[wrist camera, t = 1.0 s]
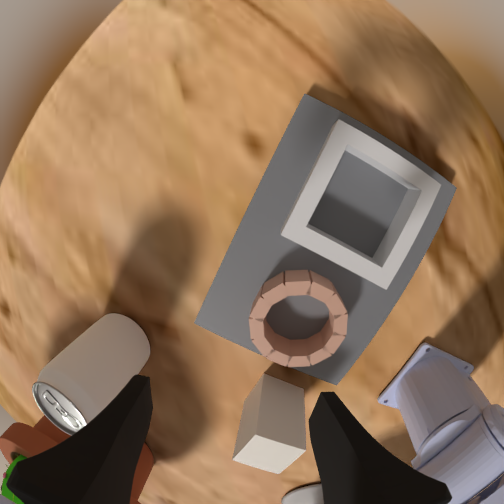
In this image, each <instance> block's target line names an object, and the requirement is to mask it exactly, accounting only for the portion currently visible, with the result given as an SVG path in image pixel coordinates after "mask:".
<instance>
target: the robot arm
mask: <svg viewBox="0 0 504 504" xmlns="http://www.w3.org/2000/svg"><path fill="white" fill-rule="evenodd" d="M427 348H428V350H426V349H427ZM473 369H474V366H473V365H472V364H470V363H468V362H465V361H463V360H461V359H459V358H457V357H455V356H453V355H451V354H449V353H447V352H445V351H442V350H440V349H438V348H436V347H434V346H432V345H430V344H428V343H422V344H421V345H420V346H419V348H418V349H417V350H416V352H415V353H414V354H413V356H412V357H411V358H410V360H409V361H408V362H407V364H406V365H405V366H404V367H403V369H402V370H401V371H400V372H399V374H398V375H397V376H396V377H395V378H394V380H393V381H392V382H391V383H390V384H389V386H388V387H387V388H386V389H385V390H384V391H383V393H382V394H381V395H380V396H379V397H378V402H379V403H380V404H384V405H387V406H390V407H394V408H397V409H399V410H400V412H401V415H402V417H403V420H404V422H405V425H406V428H407V430H408V433H409V435H410V438H411V441H412V444H413V446H414V449H415V452H416V455H417V456H416V457H415V458H414V459H413V460H411V463H412V466H413V468H412V467H410V466H408V465H407V464H405V463H404V462H402V461H401V460H399V459H398V458H397V457H395V456H394V455H392V454H391V453H390V452H389V451H388V450H386V449H385V448H384V447H383V446H382V445H380V444H379V443H378V442H377V441H376V440H375V439H374V438H373V437H372V436H371V435H370V434H369V433H368V432H367V431H366V430H365V429H364V427H363V426H362V425H361V424H360V423H359V422H358V421H357V420H356V418H355V417H354V416H353V415H352V414H351V412H350V411H349V410H348V409H347V407H346V406H345V405H344V404H343V402H342V401H341V400H340V399H339V397H338V396H337V395H336V394H335V392H321V393H320V396H319V398H318V400H317V403H316V405H315V407H314V410H313V412H312V414H311V416H310V419H309V430H310V438H311V444H312V448H313V452H314V456H315V460H316V463H317V467H318V471H319V475H320V479H321V484H322V491H323V499H324V504H504V474H503V473H504V408H502V407H501V406H500V405H498V404H494V405H491V404H490V402H489V401H488V399H487V398H486V396H485V395H484V394H483V392H482V391H481V390H480V388H479V387H478V385H477V384H476V383H475V381H474V380H473V379H472V377H471V376H470V373H471V372H472V371H473ZM385 400H386V401H385ZM152 410H153V404H152V396H151V388H150V378H149V377H146V376H141V375H134V376H133V377H132V378H131V379H130V381H129V382H128V383H127V384H126V385H125V387H124V388H123V389H122V390H121V391H120V392H119V394H118V395H117V396H116V397H115V398H114V399H113V400H112V401H111V402H110V403H109V404H108V405H107V406H106V407H105V408H104V409H103V410H102V411H101V412H100V413H99V414H98V415H97V416H96V417H95V418H94V419H92V420H91V421H90V422H89V423H88V424H87V425H85V426H84V427H83V428H81V429H80V430H79V431H77V432H76V433H75V434H73V435H72V436H70V437H69V438H67V439H66V440H64V441H62V442H61V443H59V444H57V445H55V446H54V447H52V448H50V449H48V450H46V451H44V452H42V453H39V454H37V455H34V456H32V457H29V458H26V459H24V460H21V461H18V462H17V463H16V465H15V466H14V468H13V470H12V472H11V474H10V476H9V478H8V481H7V483H6V486H7V488H8V489H9V490H10V491H11V492H12V493H13V494H14V495H15V496H17V497H18V498H19V499H20V500H21V501H22V502H23V503H24V504H130V498H131V491H132V485H133V479H134V474H135V470H136V466H137V463H138V460H139V457H140V454H141V451H142V448H143V445H144V442H145V439H146V435H147V432H148V429H149V425H150V420H151V415H152ZM502 474H503V475H502ZM501 475H502V476H501ZM500 476H501V477H500ZM497 478H498V479H497ZM496 479H497V480H496ZM495 480H496V481H495ZM494 481H495V482H494ZM491 483H492V484H491ZM490 484H491V485H490ZM489 485H490V486H489ZM486 487H487V488H486ZM485 488H486V489H485ZM484 489H485V490H484ZM482 490H483V491H482ZM481 491H482V492H481ZM480 492H481V493H480ZM478 493H479V494H478ZM477 494H478V495H477ZM476 495H477V496H476ZM474 496H475V497H474ZM473 497H474V498H473ZM472 498H473V499H472ZM470 499H471V500H470ZM0 504H16V503H14V502H13V501H11V500H9V499H8V498H6V497H5V496H3V495H1V494H0Z"/></svg>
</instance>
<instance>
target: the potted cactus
mask: <svg viewBox="0 0 504 504" xmlns="http://www.w3.org/2000/svg"><path fill="white" fill-rule="evenodd" d="M70 436H71V435H69V434H67V433H65V432H64V431H62V430H61V429H59V428H58V427H57V426H55V425H54V424H53V423H52V422H51V421H50V420H49V419H48V418H47V417H46V416H45V415H44V416H43V417H42V418H41V419H40V421H39V422H38V423H37V424H36V425H35V426H34V427H31V426H29V425H27V424H24V423H19V422H17V423H13V424H12V425H11V426H10V427H9V428H8V429H7V430H6V431H5V432H4V434H3V435H2V436H1V437H0V449H1V451H2V453H3V455H4V457H5V458H6V459H7V461H8V462H9V464H10V466H9V467H8V469H7V471H6V472H5V473H4V474H3V478H4V479H3V483H2V486H1V491H2V494H1V495H3V496H5V497H6V498H8V499H9V500H11V501H13V502H14V503H16V504H24V503H23V502H22V501H21V500H20V499H19V498H18V497H17V496H15V495H14V494H13V493H12V492H11V491H10V490H9V489H8V488H7V486H6V483H7V481H8V478H9V476H10V474H11V472H12V470H13V468H14V466H15V465H16V463H17V462H18V461H21V460H24V459H26V458H29V457H32V456H34V455H37V454H39V453H42V452H44V451H46V450H48V449H50V448H52V447H54V446H55V445H57V444H59V443H61V442H62V441H64V440H66V439H67V438H69V437H70ZM153 462H154V460H153V455H152V453H151V451H150V449H149V448H148V446H147V445H146V444H145V442H144V445H143V448H142V451H141V454H140V457H139V460H138V463H137V466H136V470H135V474H134V479H133V485H132V491H131V498H130V504H140V503H139V502H138V498H139V496H140V494H141V492H142V490H143V487H144V485H145V483H146V481H147V479H148V476H149V474H150V472H151V470H152V467H153Z"/></svg>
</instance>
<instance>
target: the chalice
mask: <svg viewBox="0 0 504 504" xmlns="http://www.w3.org/2000/svg"><path fill="white" fill-rule="evenodd" d="M281 503H282V504H324V499H323V491H322V484H315V485H310V486H305V487H301V488H298V489H295V490H293V491H291V492H289V493H287V494H286V495H285V496H284V497H283V498H282V501H281Z"/></svg>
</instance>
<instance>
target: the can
mask: <svg viewBox="0 0 504 504" xmlns="http://www.w3.org/2000/svg"><path fill="white" fill-rule="evenodd" d="M149 356H150V344H149V341H148V338H147V336H146V334H145V333H144V331H143V330H142V328H141V327H140V326H139V325H138V324H137V323H136V322H135V321H133V320H132V319H130V318H129V317H126V316H124V315H121V314H117V313H110V314H107V315H105V316H103V317H102V318H100V319H99V320H98V321H97V322H95V323H94V324H93V325H92V326H91V327H89V328H88V329H87V330H86V331H85V332H83V333H82V334H81V335H80V336H79V337H78V338H76V339H75V340H74V341H73V342H72V343H71V344H69V345H68V346H67V347H66V348H65V349H64V350H62V351H61V352H60V353H59V354H58V355H57V356H56V357H55V358H53V359H52V360H51V361H50V362H49V363H48V364H47V365H46V366H45V367H44V368H43V369H42V370H41V372H40V374H39V377H38V380H37V382H35V383H34V384H33V387H32V392H33V396H34V399H35V401H36V403H37V405H38V406H39V408H40V409H41V411H42V412H43V413H44V415H45V416H46V417H47V418H48V419H49V420H50V421H51V422H52V423H53V424H54V425H55V426H57V427H58V428H59V429H61V430H62V431H64V432H65V433H67V434H69V435H71V436H72V435H73V434H75V433H76V432H77V431H79V430H80V429H81V428H83V427H84V426H85V425H87V424H88V423H89V422H90V421H91V420H92V419H94V418H95V417H96V416H97V415H98V414H99V413H100V412H101V411H102V410H103V409H104V408H105V407H106V406H107V405H108V404H109V403H110V402H111V401H112V400H113V399H114V398H115V397H116V396H117V395H118V394H119V392H120V391H121V390H122V389H123V388H124V387H125V385H126V384H127V383H128V382H129V381H130V379H131V378H132V377H133V376H134V375H138V373H139V372H140V371H141V369H142V368H143V366H144V365H145V363H146V362H147V360H148V359H149Z"/></svg>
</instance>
